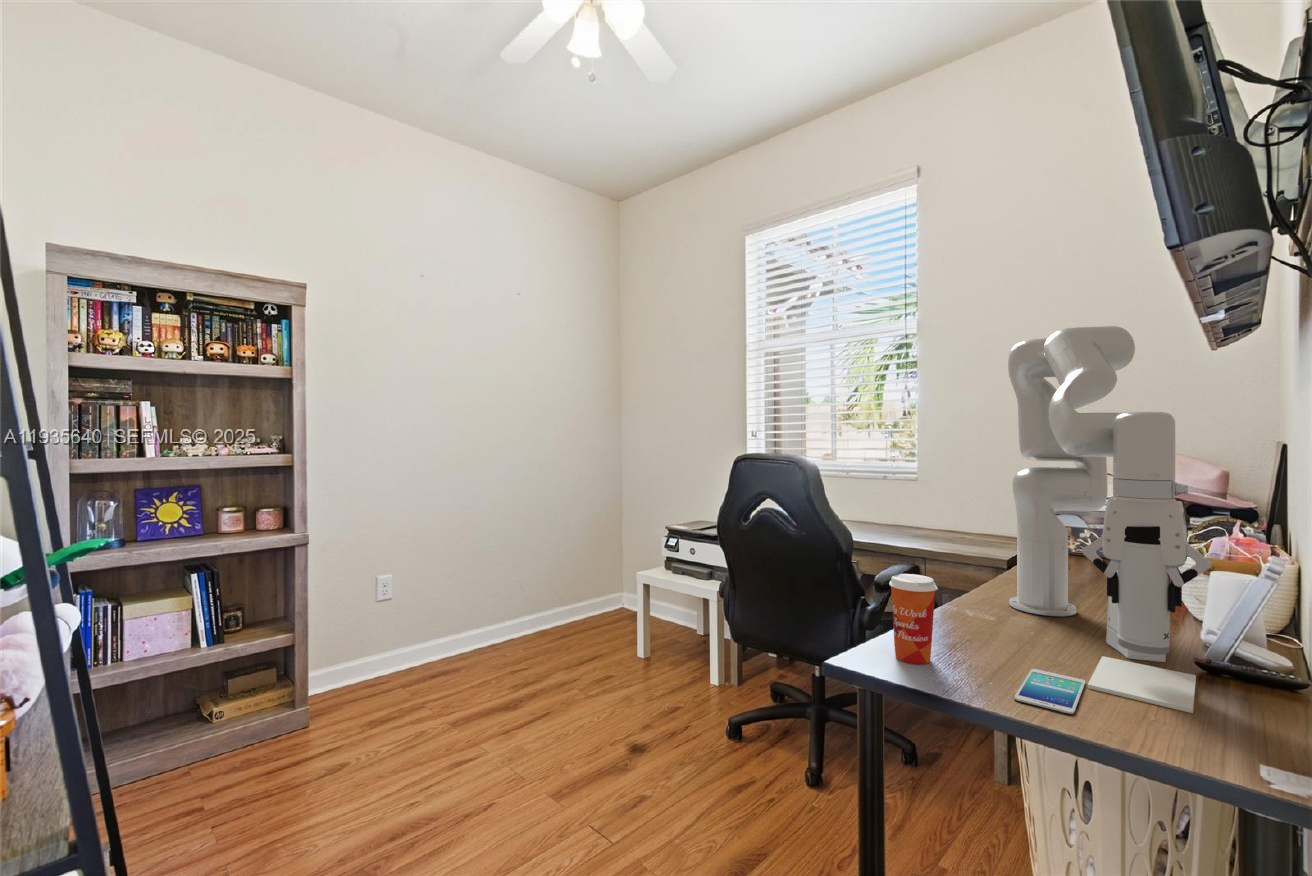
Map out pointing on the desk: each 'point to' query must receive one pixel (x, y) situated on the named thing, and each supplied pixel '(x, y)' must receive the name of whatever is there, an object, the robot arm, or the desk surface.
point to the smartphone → (1051, 691)
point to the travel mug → (1143, 593)
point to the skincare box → (1113, 633)
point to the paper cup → (913, 617)
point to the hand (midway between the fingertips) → (1143, 605)
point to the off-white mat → (1145, 683)
